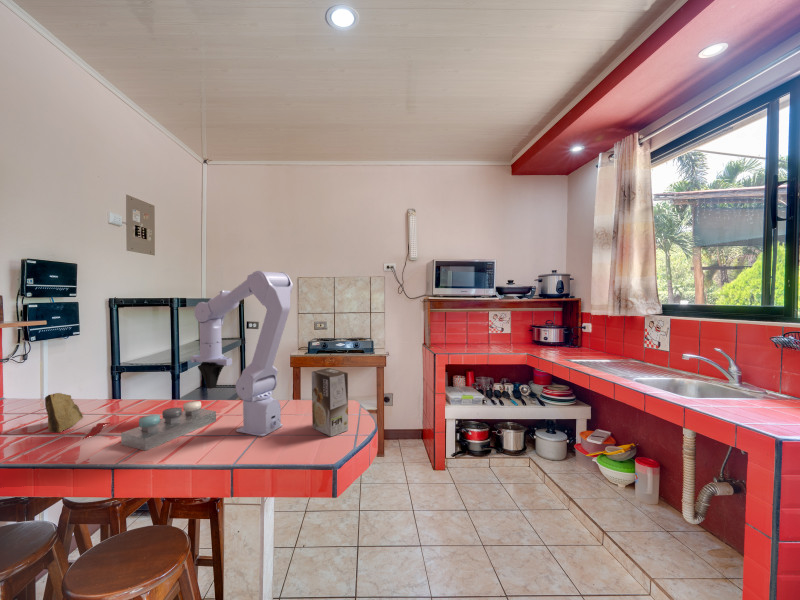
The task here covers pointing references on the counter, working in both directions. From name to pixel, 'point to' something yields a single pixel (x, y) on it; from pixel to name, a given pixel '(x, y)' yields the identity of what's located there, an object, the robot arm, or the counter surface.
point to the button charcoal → (172, 415)
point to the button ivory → (192, 408)
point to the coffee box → (330, 401)
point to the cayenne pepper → (95, 429)
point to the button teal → (149, 423)
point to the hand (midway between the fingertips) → (211, 387)
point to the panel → (167, 430)
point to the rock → (61, 412)
